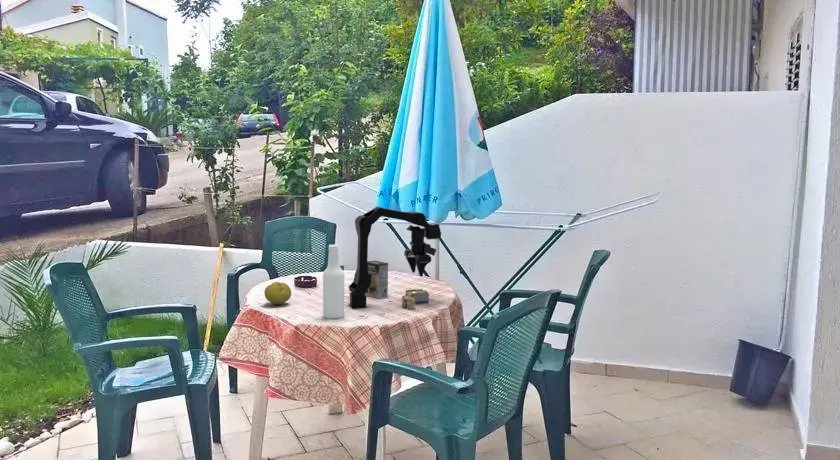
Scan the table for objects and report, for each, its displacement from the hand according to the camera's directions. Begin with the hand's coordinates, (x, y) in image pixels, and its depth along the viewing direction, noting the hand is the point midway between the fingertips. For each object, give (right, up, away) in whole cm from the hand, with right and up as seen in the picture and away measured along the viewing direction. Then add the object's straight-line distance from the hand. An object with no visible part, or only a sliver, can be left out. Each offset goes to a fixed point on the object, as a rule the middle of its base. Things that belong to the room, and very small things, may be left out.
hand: (417, 274), depth 330 cm
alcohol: (-34, -16, -25) cm, 46 cm away
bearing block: (-4, -14, -9) cm, 17 cm away
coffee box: (-19, -11, +12) cm, 25 cm away
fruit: (-61, -13, -6) cm, 63 cm away
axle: (0, -11, +2) cm, 11 cm away
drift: (-4, -14, -9) cm, 17 cm away
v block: (0, -12, +2) cm, 12 cm away
